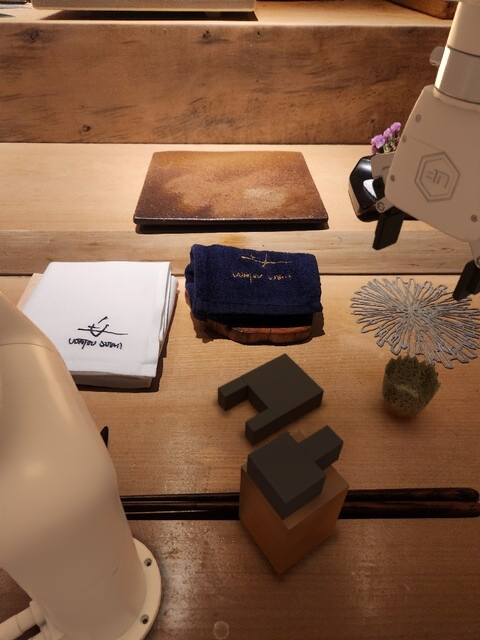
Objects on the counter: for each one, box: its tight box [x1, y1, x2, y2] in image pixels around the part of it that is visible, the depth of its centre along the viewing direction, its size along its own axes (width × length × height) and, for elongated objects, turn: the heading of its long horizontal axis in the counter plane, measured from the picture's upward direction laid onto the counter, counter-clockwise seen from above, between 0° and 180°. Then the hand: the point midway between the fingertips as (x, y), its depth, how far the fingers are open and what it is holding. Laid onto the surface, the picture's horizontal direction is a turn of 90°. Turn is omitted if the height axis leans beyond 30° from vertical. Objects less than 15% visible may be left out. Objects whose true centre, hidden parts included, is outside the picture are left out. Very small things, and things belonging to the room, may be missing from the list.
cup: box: [381, 354, 442, 418], centre depth 66 cm, size 8×7×8 cm
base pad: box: [217, 352, 325, 447], centre depth 68 cm, size 13×9×4 cm
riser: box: [238, 429, 351, 576], centre depth 51 cm, size 8×8×12 cm
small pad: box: [246, 424, 345, 521], centre depth 46 cm, size 9×6×4 cm, turn 125°
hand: (421, 268), depth 45 cm, fingers open, 9 cm apart
